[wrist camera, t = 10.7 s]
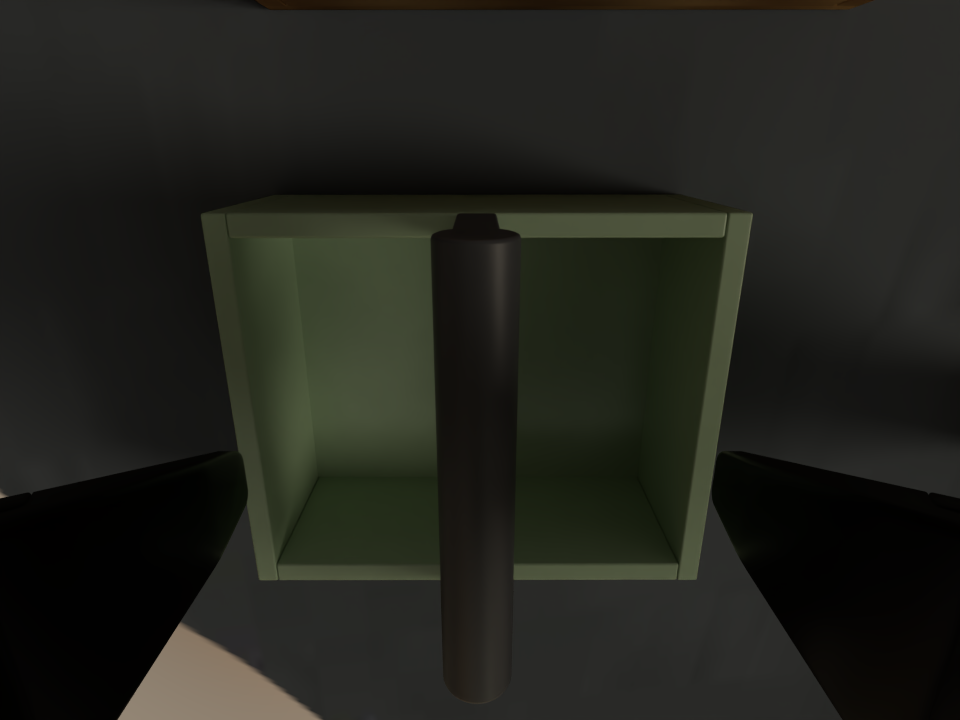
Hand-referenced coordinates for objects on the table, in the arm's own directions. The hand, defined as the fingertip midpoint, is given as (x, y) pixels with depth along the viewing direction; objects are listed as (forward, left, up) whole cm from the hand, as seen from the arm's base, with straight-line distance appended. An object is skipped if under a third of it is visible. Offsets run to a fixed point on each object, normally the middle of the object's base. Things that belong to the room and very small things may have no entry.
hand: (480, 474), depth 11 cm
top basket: (0, 0, -7) cm, 7 cm away
